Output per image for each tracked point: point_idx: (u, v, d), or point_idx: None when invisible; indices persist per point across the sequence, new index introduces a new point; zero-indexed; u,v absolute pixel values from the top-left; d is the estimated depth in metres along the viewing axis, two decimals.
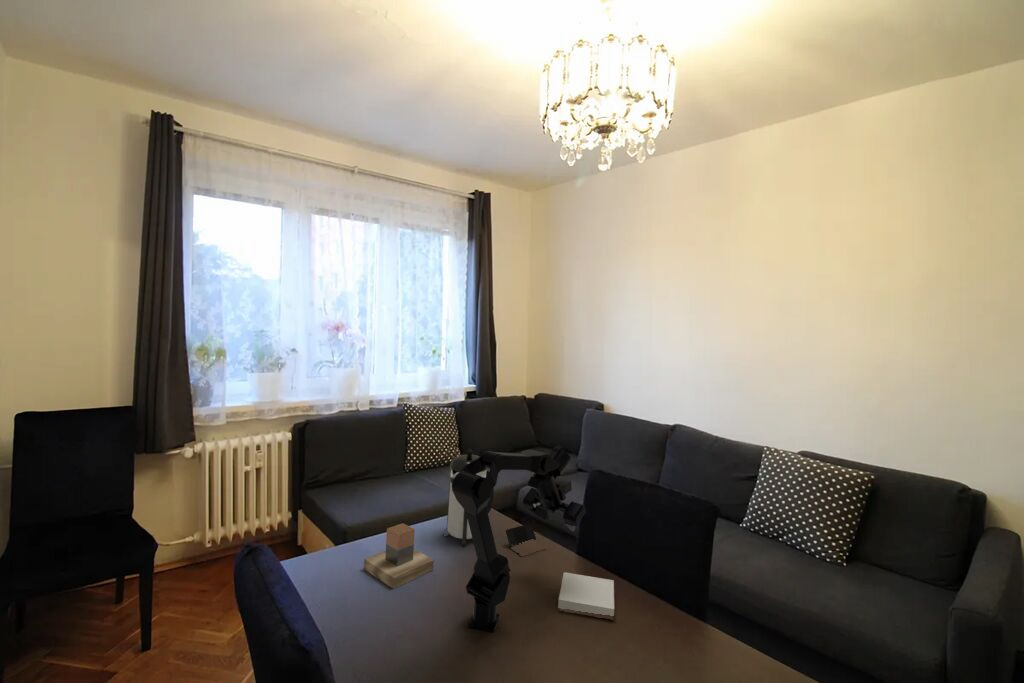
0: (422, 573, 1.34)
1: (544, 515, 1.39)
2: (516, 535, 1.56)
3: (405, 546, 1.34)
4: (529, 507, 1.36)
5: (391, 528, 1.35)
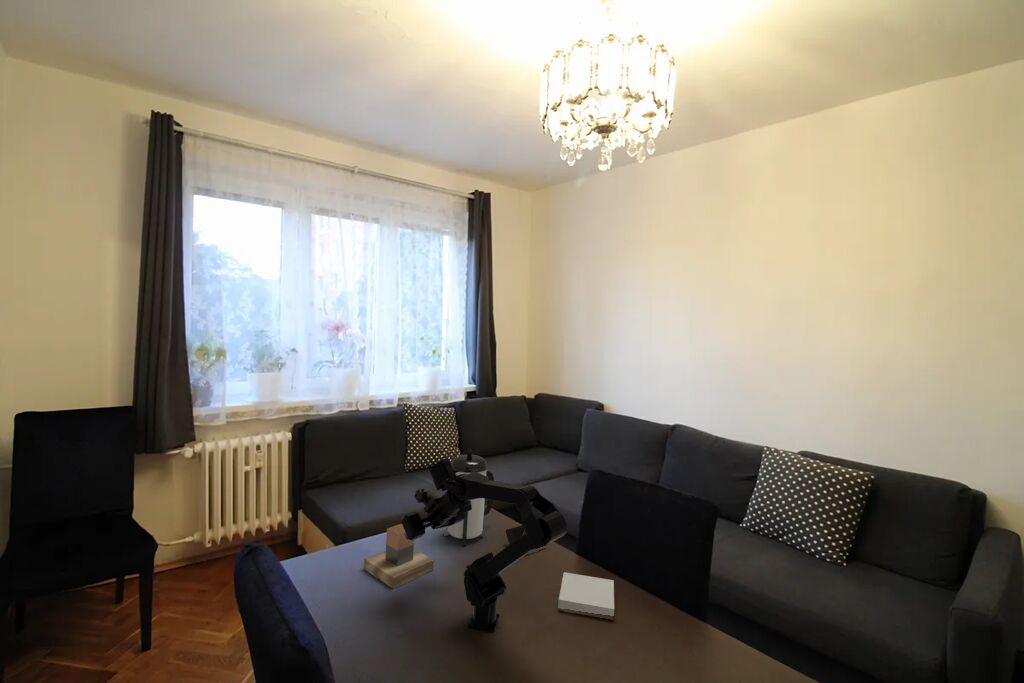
0: (422, 573, 1.34)
1: None
2: (516, 535, 1.56)
3: (405, 546, 1.34)
4: (419, 536, 1.20)
5: (391, 528, 1.35)
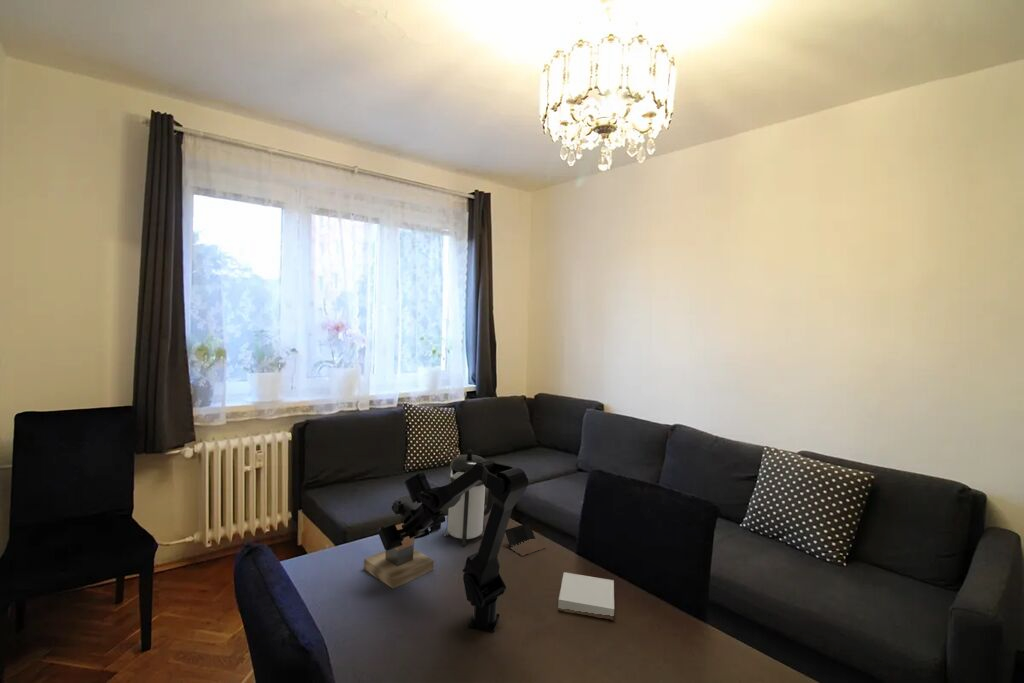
0: (422, 573, 1.34)
1: None
2: (515, 535, 1.56)
3: (405, 546, 1.34)
4: (395, 546, 1.26)
5: None
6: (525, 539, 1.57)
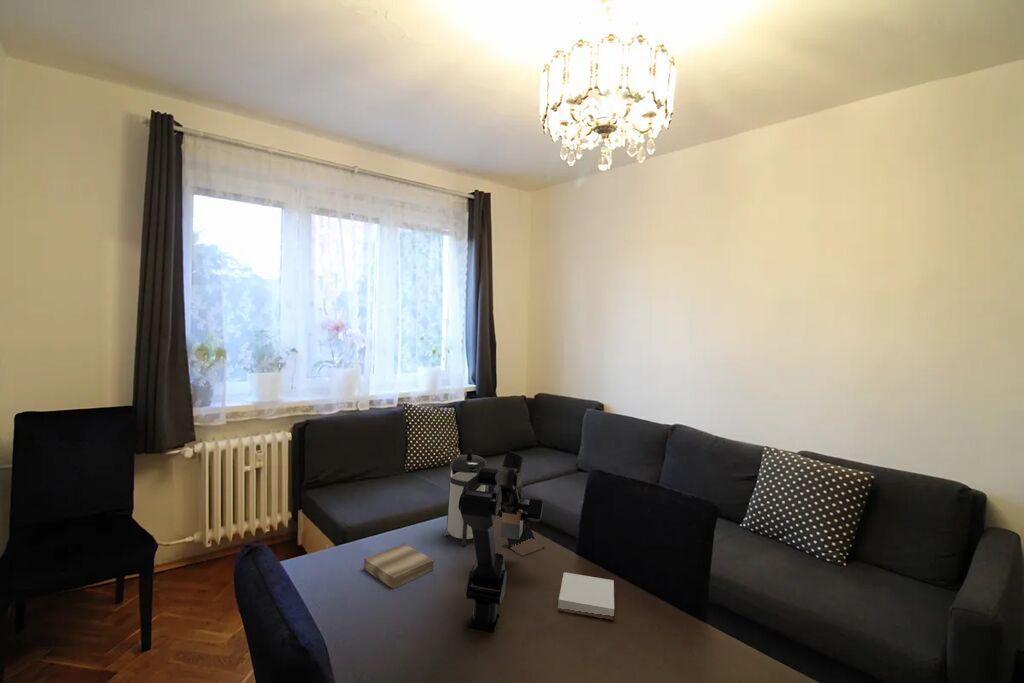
0: (422, 573, 1.34)
1: None
2: None
3: (510, 522, 1.40)
4: None
5: None
6: (524, 539, 1.57)
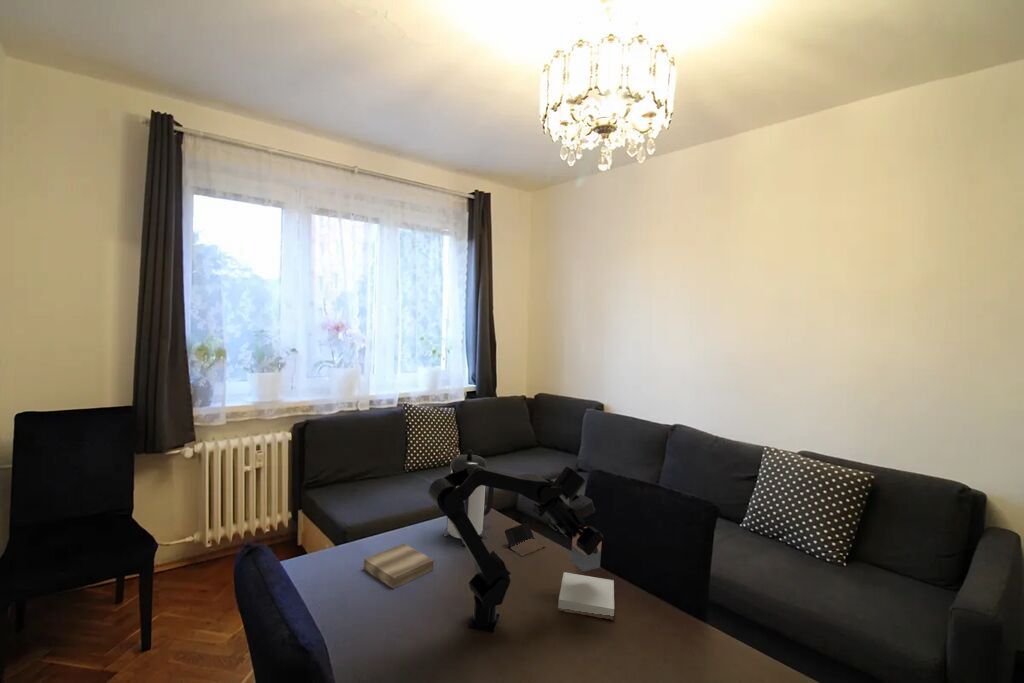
0: (422, 573, 1.34)
1: None
2: (515, 535, 1.56)
3: (577, 548, 1.26)
4: (553, 528, 1.30)
5: None
6: (524, 539, 1.57)
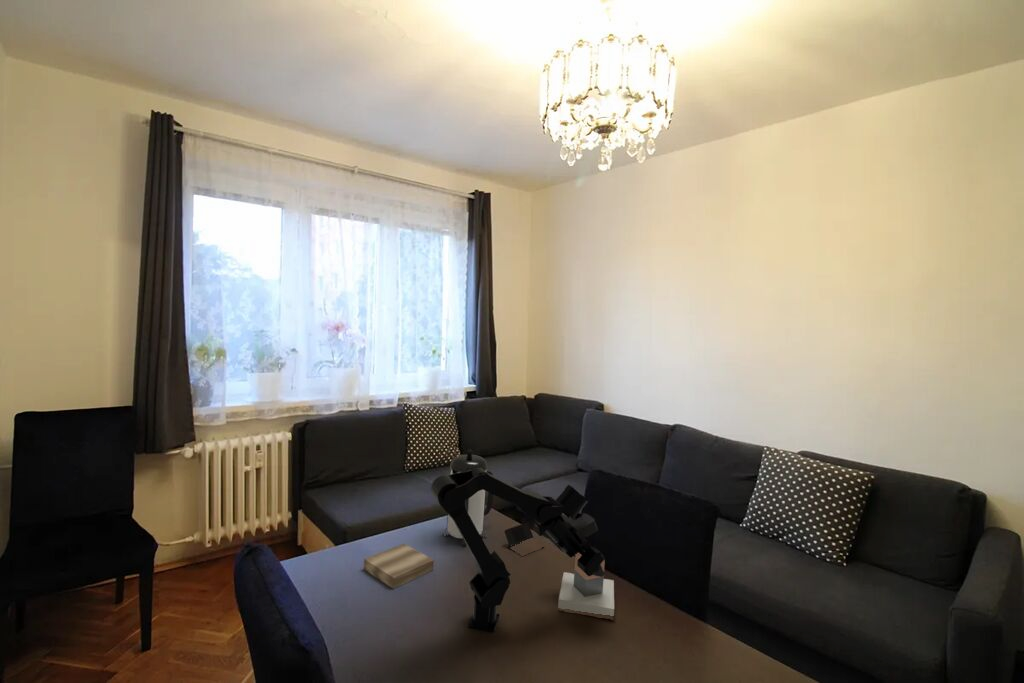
0: (422, 573, 1.34)
1: None
2: (514, 535, 1.56)
3: (579, 572, 1.25)
4: None
5: None
6: (524, 539, 1.57)
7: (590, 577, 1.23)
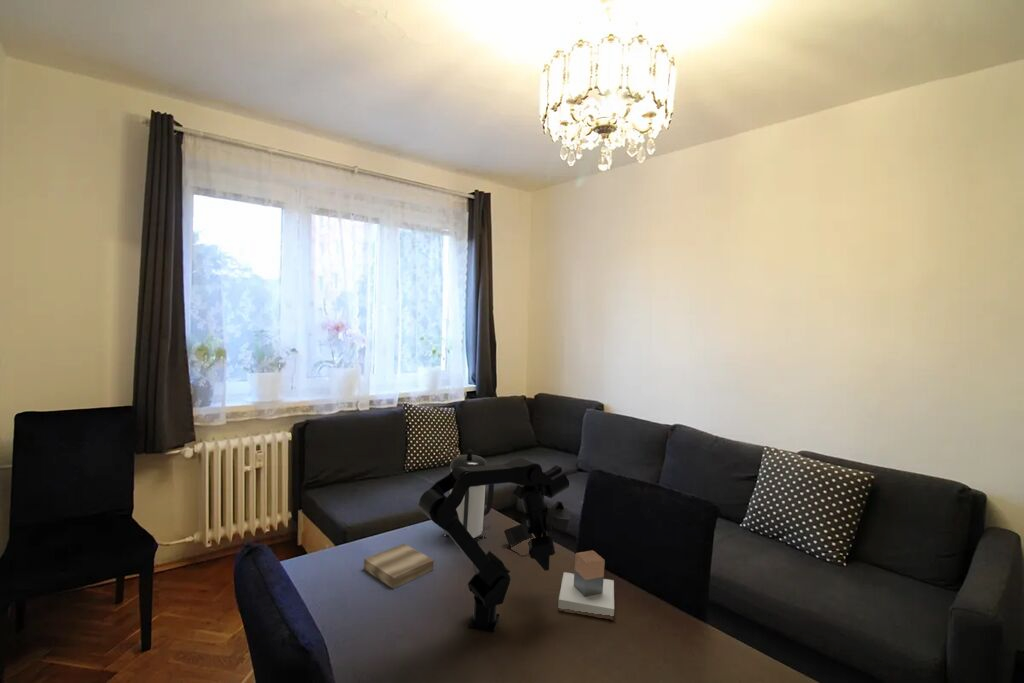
0: (422, 573, 1.34)
1: None
2: (514, 535, 1.56)
3: (579, 572, 1.25)
4: None
5: (592, 552, 1.28)
6: (524, 538, 1.57)
7: (590, 577, 1.23)
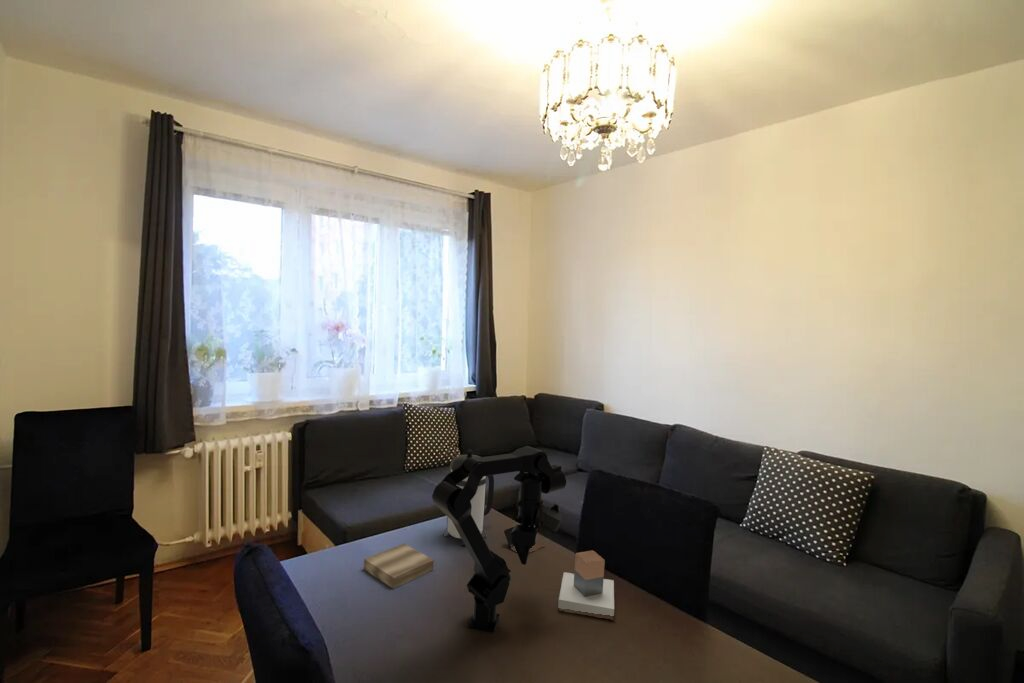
0: (422, 573, 1.34)
1: None
2: None
3: (579, 572, 1.25)
4: None
5: (592, 552, 1.28)
6: None
7: (590, 577, 1.23)
